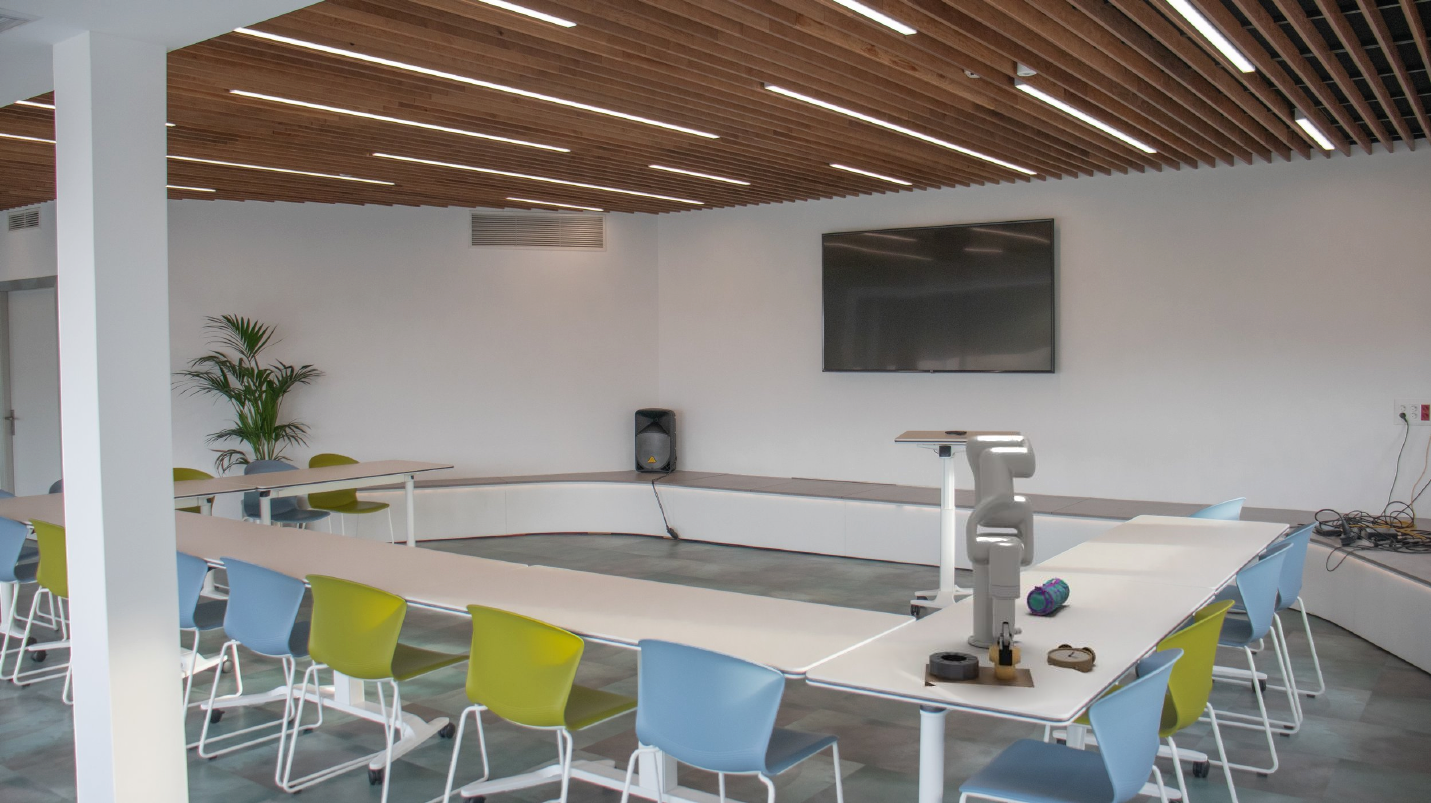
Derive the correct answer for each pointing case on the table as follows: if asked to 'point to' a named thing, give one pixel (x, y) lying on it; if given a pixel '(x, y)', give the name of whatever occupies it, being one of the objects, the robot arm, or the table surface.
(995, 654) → the cap
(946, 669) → the grey faceted ring
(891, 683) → the table surface
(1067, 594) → the pencil case
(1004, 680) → the mount
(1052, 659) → the alarm clock
